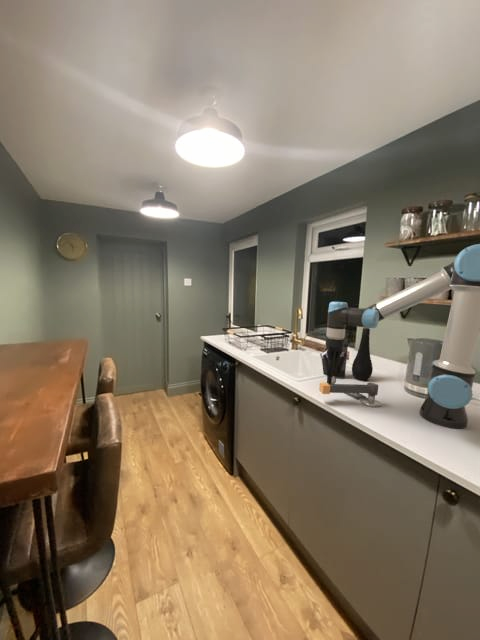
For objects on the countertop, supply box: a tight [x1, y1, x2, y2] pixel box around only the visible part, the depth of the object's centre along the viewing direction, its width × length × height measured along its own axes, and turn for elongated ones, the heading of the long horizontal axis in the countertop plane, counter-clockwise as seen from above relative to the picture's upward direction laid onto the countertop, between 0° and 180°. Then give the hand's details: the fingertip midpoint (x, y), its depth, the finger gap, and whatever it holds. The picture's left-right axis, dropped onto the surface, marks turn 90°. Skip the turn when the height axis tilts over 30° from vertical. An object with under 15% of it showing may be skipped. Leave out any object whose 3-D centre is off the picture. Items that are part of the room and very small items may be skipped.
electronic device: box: [336, 341, 349, 380], centre depth 154 cm, size 9×6×20 cm, turn 84°
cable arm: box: [318, 382, 379, 396], centre depth 118 cm, size 25×4×4 cm, turn 95°
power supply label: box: [344, 393, 368, 400], centre depth 128 cm, size 8×6×1 cm
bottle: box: [351, 327, 374, 382], centre depth 152 cm, size 11×11×30 cm
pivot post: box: [360, 394, 382, 408], centre depth 119 cm, size 8×8×4 cm
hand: (330, 390), depth 120 cm, fingers closed
